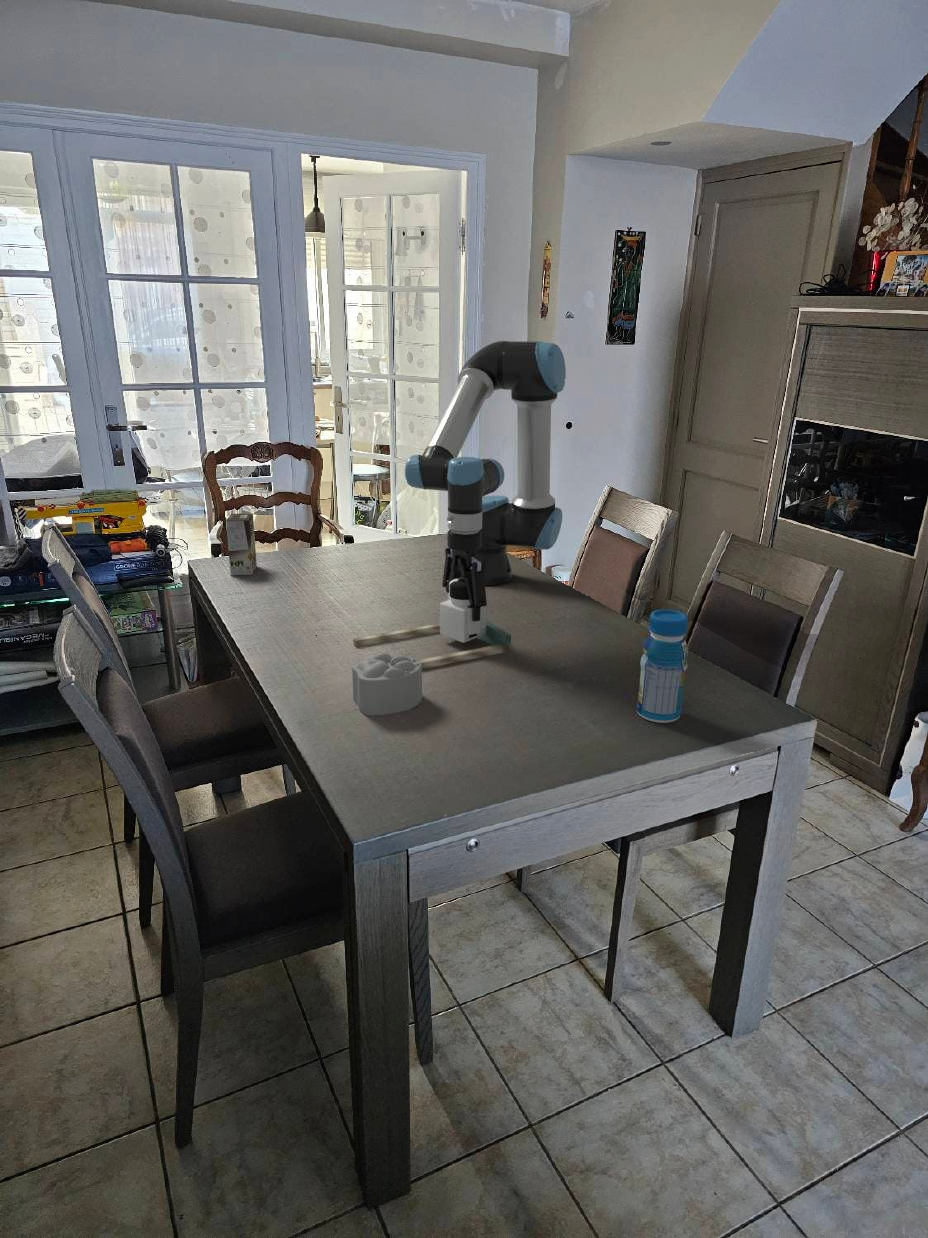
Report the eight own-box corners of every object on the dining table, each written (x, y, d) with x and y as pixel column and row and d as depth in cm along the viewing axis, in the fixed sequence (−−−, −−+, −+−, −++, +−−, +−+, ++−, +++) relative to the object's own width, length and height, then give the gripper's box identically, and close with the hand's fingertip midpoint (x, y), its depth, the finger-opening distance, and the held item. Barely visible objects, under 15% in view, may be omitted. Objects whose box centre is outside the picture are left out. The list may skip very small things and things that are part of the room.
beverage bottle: (653, 728, 146) (664, 626, 138) (626, 708, 153) (636, 610, 146) (690, 720, 149) (703, 619, 142) (662, 701, 156) (673, 604, 149)
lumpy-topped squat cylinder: (349, 695, 156) (348, 654, 153) (412, 685, 161) (412, 645, 158) (364, 718, 147) (363, 676, 144) (430, 707, 152) (430, 665, 149)
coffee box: (253, 575, 227) (248, 520, 222) (230, 575, 226) (225, 520, 221) (257, 566, 236) (253, 512, 230) (235, 566, 235) (230, 512, 229)
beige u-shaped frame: (469, 623, 194) (469, 608, 192) (510, 651, 178) (511, 634, 177) (353, 644, 180) (352, 628, 179) (386, 676, 165) (386, 658, 163)
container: (486, 634, 182) (488, 580, 178) (463, 643, 177) (464, 588, 173) (462, 625, 187) (463, 572, 183) (439, 634, 182) (439, 580, 178)
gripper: (427, 520, 181) (427, 613, 189) (474, 544, 163) (472, 645, 171) (456, 517, 184) (455, 608, 192) (505, 539, 166) (502, 639, 174)
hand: (463, 626), depth 182 cm, fingers closed on container, 9 cm apart
